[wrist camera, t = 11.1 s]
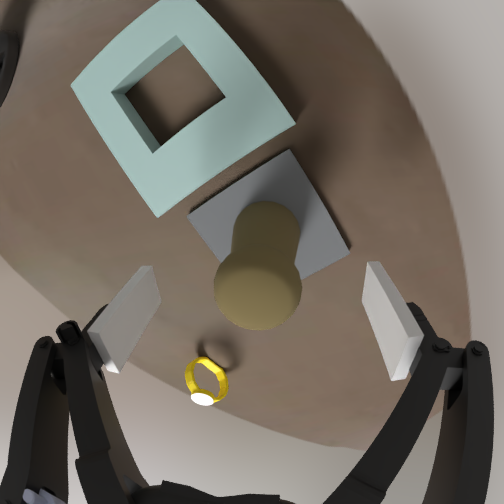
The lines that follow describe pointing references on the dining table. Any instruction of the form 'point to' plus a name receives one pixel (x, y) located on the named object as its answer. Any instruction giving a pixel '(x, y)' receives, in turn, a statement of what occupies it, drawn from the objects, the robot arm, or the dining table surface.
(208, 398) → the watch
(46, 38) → the dining table surface
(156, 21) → the socket board
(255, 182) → the rubber mat
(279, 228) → the cork
